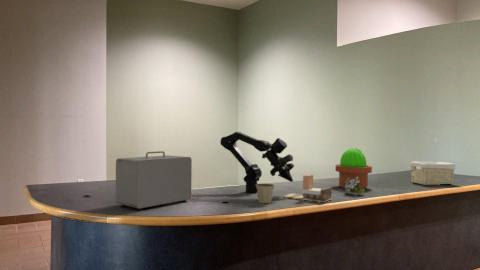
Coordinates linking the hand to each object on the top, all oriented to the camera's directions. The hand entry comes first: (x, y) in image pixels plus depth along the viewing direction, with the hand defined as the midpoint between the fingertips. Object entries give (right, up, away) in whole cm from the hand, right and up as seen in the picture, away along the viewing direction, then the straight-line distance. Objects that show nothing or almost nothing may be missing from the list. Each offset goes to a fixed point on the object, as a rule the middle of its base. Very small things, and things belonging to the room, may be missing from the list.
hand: (292, 181), depth 199 cm
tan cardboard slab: (+7, -9, -5) cm, 12 cm away
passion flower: (+37, -9, +12) cm, 40 cm away
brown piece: (+10, -7, -7) cm, 14 cm away
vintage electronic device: (-69, -8, -21) cm, 73 cm away
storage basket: (+104, -9, +57) cm, 119 cm away
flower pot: (-16, -9, -15) cm, 23 cm away
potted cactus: (+44, -9, +38) cm, 59 cm away
